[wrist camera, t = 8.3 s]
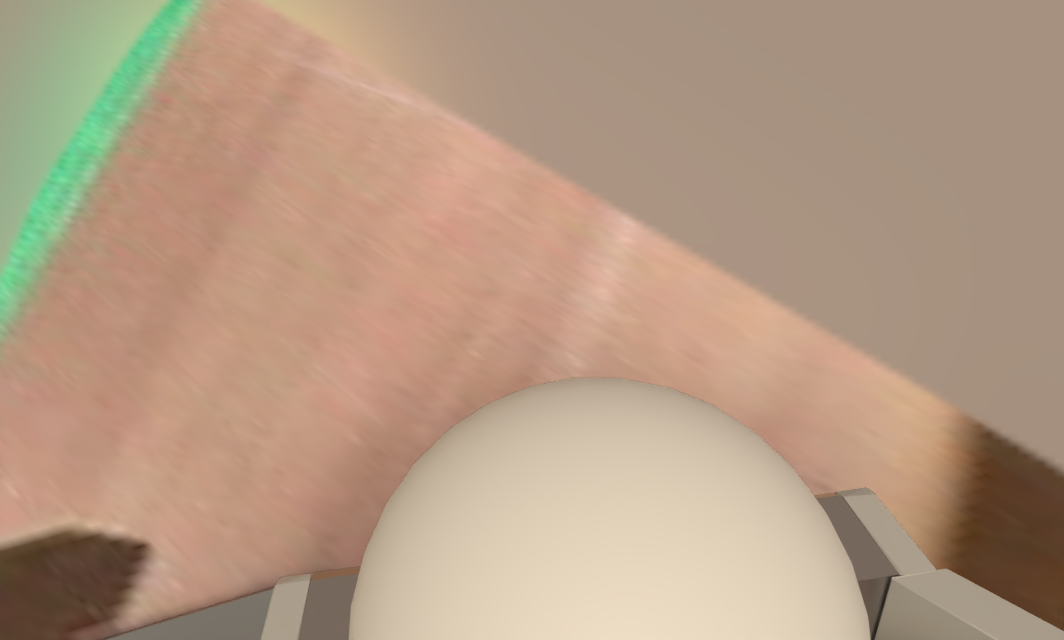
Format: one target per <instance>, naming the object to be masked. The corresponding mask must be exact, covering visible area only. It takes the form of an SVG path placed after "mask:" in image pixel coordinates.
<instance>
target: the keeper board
mask: <svg viewBox="0 0 1064 640" xmlns="http://www.w3.org/2000/svg"><path fill="white" fill-rule="evenodd" d="M273 589H274V587H272V588H268V589H265V590H262V591H259V592H255V593H252V594H249V595H245V596H242V597H239V598H236V599H232V600H229V601H226V602H222V603H219V604H216V605H213V606H209V607H206V608H203V609H199V610H196V611H193V612H190V613H186V614H183V615H180V616H176V617H173V618H170V619H167V620H163V621H160V622H157V623H153V624H150V625H147V626H144V627H140V628H137V629H134V630H130V631H127V632H124V633H121V634H117V635H114V636H111V637H107V638H104V639H101V640H261V636H262V632H263V628H264V624H265V620H266V616H267V613H268V609H269V605H270V601H271V597H272V593H273Z"/></svg>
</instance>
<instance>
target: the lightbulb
mask: <svg viewBox="0 0 1064 640" xmlns="http://www.w3.org/2000/svg"><path fill="white" fill-rule="evenodd" d="M349 640H871V638H870V629H869V621H868V615H867V611H866V608H865V605H864V601H863V598H862V595H861V591H860V588H859V585H858V582H857V578H856V575H855V572H854V568H853V565H852V563H851V561H850V559H849V557H848V555H847V553H846V551H845V549H844V547H843V545H842V543H841V541H840V539H839V537H838V535H837V533H836V531H835V529H834V527H833V525H832V523H831V521H830V519H829V517H828V515H827V514H826V512H825V511H824V509H823V507H822V506H821V505H820V503H819V502H818V501H817V499H816V498H815V497H814V495H813V494H812V493H811V491H810V490H809V489H808V487H807V486H806V485H805V483H804V482H803V481H802V479H801V478H800V477H799V475H798V474H797V473H796V471H795V470H794V469H793V467H792V466H791V465H790V464H789V463H788V462H787V461H786V460H785V459H784V458H782V457H781V456H780V455H779V454H778V453H777V452H776V451H775V450H774V449H773V448H772V447H771V446H770V445H769V444H767V443H766V442H765V441H764V440H763V439H762V438H761V437H760V436H759V435H758V434H757V433H756V432H755V431H753V430H751V429H750V428H748V427H747V426H745V425H744V424H742V423H740V422H739V421H737V420H736V419H734V418H733V417H731V416H729V415H728V414H726V413H725V412H723V411H722V410H720V409H719V408H717V407H715V406H714V405H711V404H709V403H707V402H704V401H702V400H699V399H697V398H694V397H692V396H689V395H687V394H684V393H682V392H679V391H677V390H674V389H672V388H669V387H664V386H659V385H654V384H649V383H644V382H639V381H633V380H628V379H623V378H570V379H564V380H559V381H554V382H549V383H544V384H539V385H534V386H529V387H527V388H524V389H522V390H519V391H517V392H515V393H512V394H510V395H507V396H505V397H502V398H500V399H498V400H495V401H493V402H490V403H488V404H486V405H485V406H483V407H482V408H480V409H479V410H477V411H476V412H474V413H473V414H471V415H469V416H468V417H466V418H465V419H463V420H462V421H460V422H459V423H457V424H456V425H454V426H453V427H451V428H450V429H448V430H447V431H446V432H445V433H444V434H443V435H442V436H441V437H440V438H439V439H438V440H437V441H436V442H435V443H434V444H433V445H432V446H431V447H430V448H429V449H428V450H427V451H426V452H425V453H424V454H423V455H422V456H421V457H420V458H419V459H418V460H417V461H416V462H415V463H414V464H413V466H412V467H411V469H410V470H409V472H408V473H407V474H406V476H405V477H404V479H403V480H402V482H401V483H400V484H399V486H398V487H397V489H396V490H395V492H394V493H393V494H392V496H391V497H390V499H389V500H388V502H387V503H386V506H385V508H384V510H383V512H382V514H381V517H380V519H379V521H378V523H377V525H376V528H375V530H374V532H373V534H372V536H371V539H370V541H369V543H368V545H367V548H366V550H365V553H364V556H363V560H362V564H361V568H360V572H359V576H358V580H357V584H356V588H355V592H354V596H353V600H352V604H351V611H350V626H349Z"/></svg>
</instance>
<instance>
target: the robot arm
mask: <svg viewBox="0 0 1064 640" xmlns="http://www.w3.org/2000/svg"><path fill="white" fill-rule="evenodd" d="M814 497H815V498H816V499H817V501H818V502H819V503H820V505H821V506H822V507H823V509H824V511H825V512H826V514H827V515H828V517H829V519H830V521H831V523H832V525H833V527H834V529H835V531H836V533H837V535H838V537H839V539H840V541H841V543H842V545H843V547H844V549H845V551H846V553H847V555H848V557H849V559H850V561H851V563H852V565H853V568H854V572H855V575H856V578H857V582H858V585H859V588H860V591H861V595H862V598H863V601H864V605H865V608H866V611H867V615H868V621H869V629H870V638H871V640H1064V631H1062V630H1060V629H1058V628H1056V627H1054V626H1053V625H1051V624H1049V623H1047V622H1045V621H1043V620H1041V619H1040V618H1038V617H1036V616H1034V615H1032V614H1030V613H1028V612H1026V611H1025V610H1023V609H1021V608H1019V607H1017V606H1015V605H1013V604H1012V603H1010V602H1008V601H1006V600H1004V599H1002V598H1000V597H999V596H997V595H995V594H993V593H991V592H989V591H987V590H986V589H984V588H982V587H980V586H978V585H976V584H974V583H972V582H971V581H969V580H967V579H965V578H963V577H961V576H959V575H958V574H956V573H954V572H952V571H950V570H948V569H940V570H937V569H936V568H935V567H934V566H933V564H932V563H931V562H930V561H929V559H928V558H927V557H926V556H925V555H924V553H923V552H922V551H921V550H920V548H919V547H918V546H917V545H916V544H915V542H914V541H913V540H912V539H911V537H910V536H909V535H908V534H907V532H906V531H905V530H904V529H903V528H902V526H901V525H900V524H899V523H898V521H897V520H896V519H895V518H894V516H893V515H892V514H891V513H890V512H889V510H888V509H887V508H886V507H885V505H884V504H883V503H882V502H881V501H880V499H879V498H878V497H877V496H876V494H875V493H874V492H873V491H871V490H869V489H868V488H860V489H854V490H847V491H841V492H835V493H826V494H820V495H814ZM360 568H361V566H359V567H351V568H344V569H336V570H328V571H320V572H315V573H308V574H300V575H293V576H286V577H280V579H279V580H278V582H277V583H276V585H275V587H274V589H273V593H272V597H271V601H270V605H269V609H268V613H267V616H266V620H265V624H264V628H263V632H262V636H261V640H349V626H350V611H351V604H352V600H353V596H354V592H355V588H356V584H357V580H358V576H359V572H360Z"/></svg>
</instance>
